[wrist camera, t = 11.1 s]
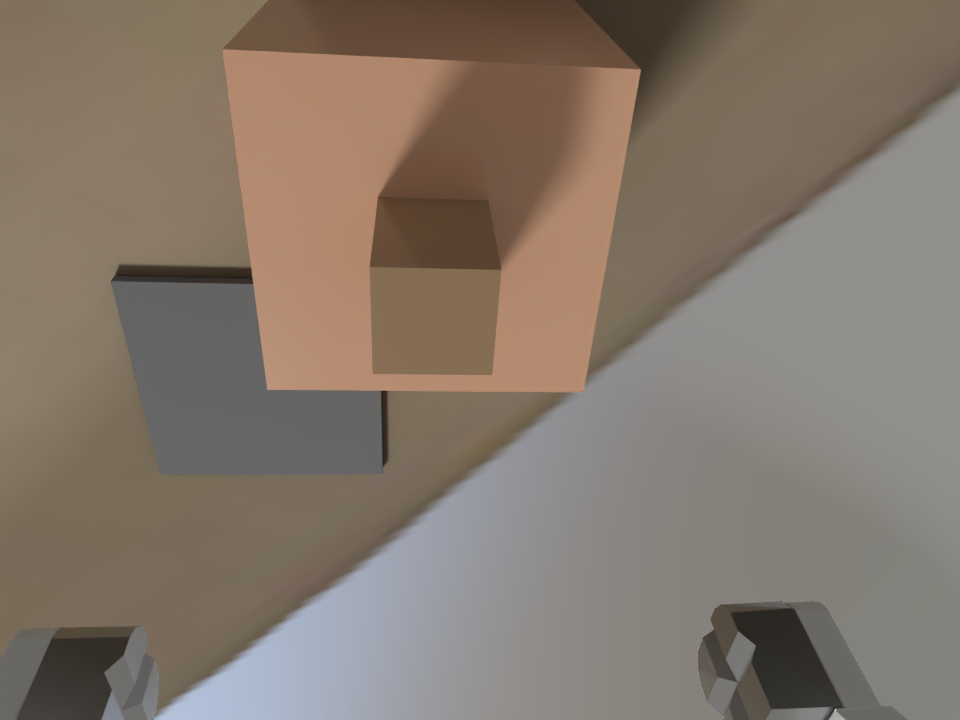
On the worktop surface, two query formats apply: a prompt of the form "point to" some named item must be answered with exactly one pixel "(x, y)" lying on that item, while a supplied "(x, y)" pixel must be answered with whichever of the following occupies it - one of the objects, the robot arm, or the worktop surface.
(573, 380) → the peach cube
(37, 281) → the worktop surface
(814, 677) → the robot arm
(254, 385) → the mat
